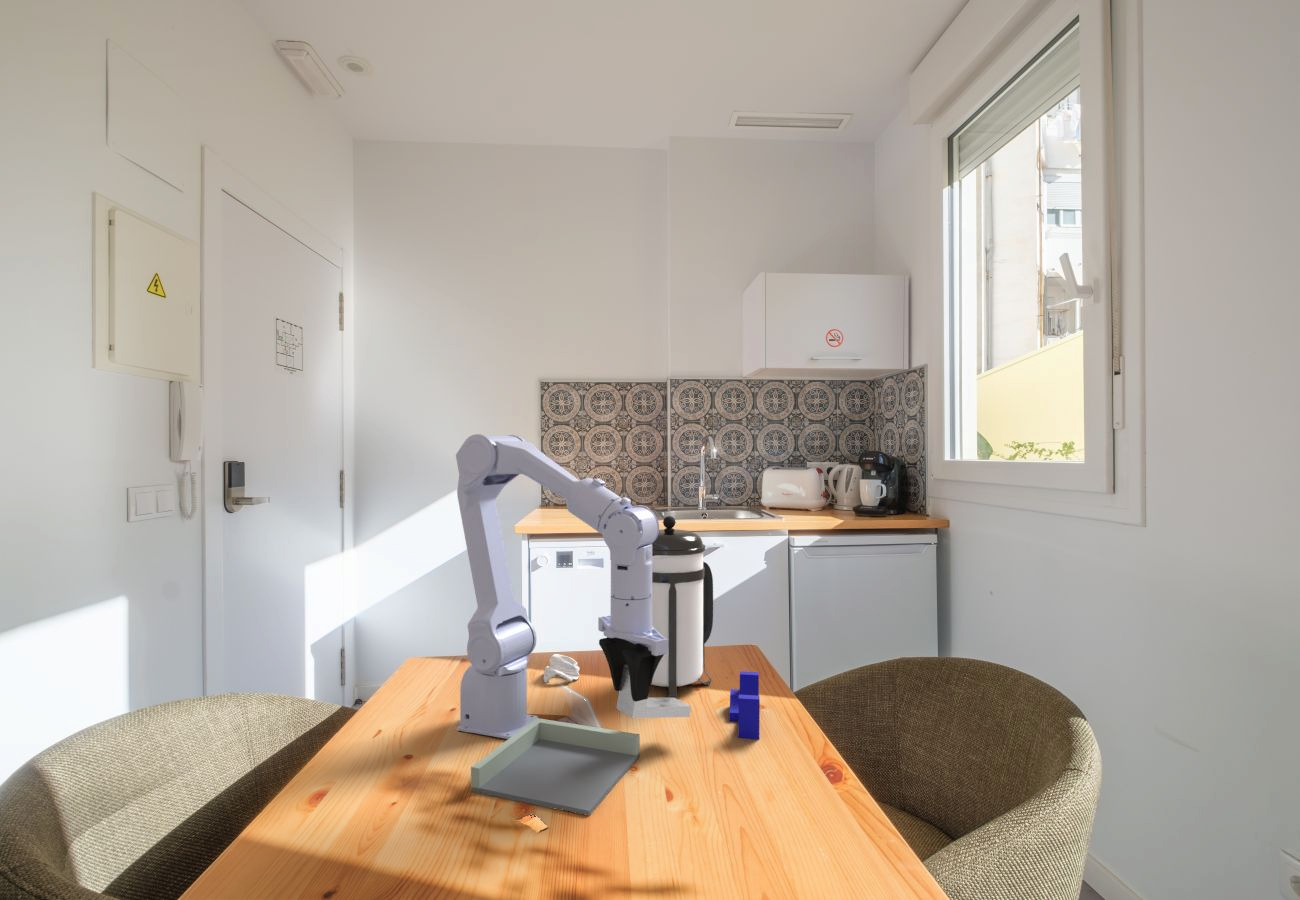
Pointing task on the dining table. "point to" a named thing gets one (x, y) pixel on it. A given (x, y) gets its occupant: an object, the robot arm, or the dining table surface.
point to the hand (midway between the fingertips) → (630, 694)
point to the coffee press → (681, 605)
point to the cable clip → (746, 705)
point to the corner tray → (557, 765)
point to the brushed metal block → (648, 703)
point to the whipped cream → (561, 668)
